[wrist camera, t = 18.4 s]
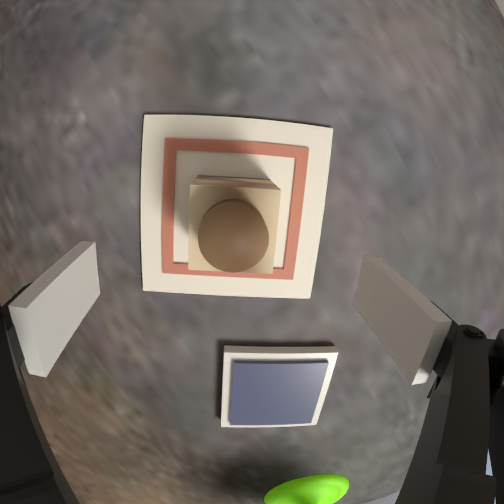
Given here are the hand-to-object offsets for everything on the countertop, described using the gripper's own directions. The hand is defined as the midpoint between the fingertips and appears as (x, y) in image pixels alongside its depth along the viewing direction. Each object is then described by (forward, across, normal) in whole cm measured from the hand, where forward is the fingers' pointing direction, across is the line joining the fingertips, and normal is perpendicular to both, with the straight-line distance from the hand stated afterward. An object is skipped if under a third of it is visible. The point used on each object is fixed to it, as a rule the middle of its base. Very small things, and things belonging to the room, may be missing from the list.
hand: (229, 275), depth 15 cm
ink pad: (+14, +6, -20) cm, 25 cm away
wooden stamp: (+13, 0, 0) cm, 13 cm away
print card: (+14, 0, 0) cm, 14 cm away
